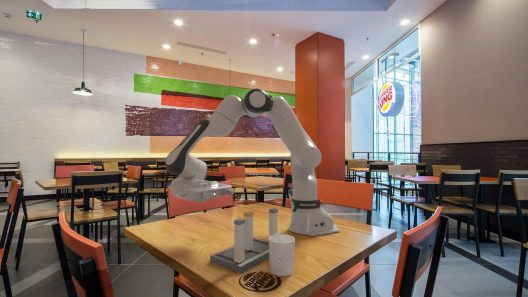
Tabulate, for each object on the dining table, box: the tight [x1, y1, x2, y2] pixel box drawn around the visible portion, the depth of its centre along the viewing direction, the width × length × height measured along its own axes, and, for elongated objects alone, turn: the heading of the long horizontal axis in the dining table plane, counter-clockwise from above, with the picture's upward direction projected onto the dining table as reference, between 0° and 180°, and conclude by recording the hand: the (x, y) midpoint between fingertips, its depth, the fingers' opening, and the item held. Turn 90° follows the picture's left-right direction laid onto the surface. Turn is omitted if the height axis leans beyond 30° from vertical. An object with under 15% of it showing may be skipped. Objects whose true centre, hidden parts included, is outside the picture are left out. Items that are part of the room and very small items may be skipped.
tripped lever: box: [243, 210, 255, 251], centre depth 89 cm, size 2×3×13 cm
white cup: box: [268, 233, 296, 277], centre depth 78 cm, size 8×8×10 cm
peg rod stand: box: [209, 207, 279, 275], centre depth 89 cm, size 14×22×15 cm, turn 143°
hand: (223, 194), depth 97 cm, fingers open, 8 cm apart
